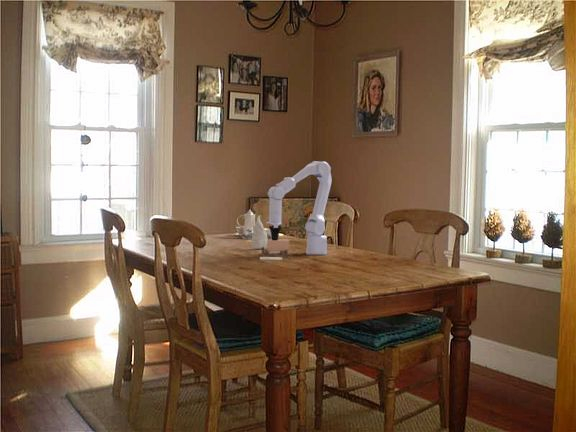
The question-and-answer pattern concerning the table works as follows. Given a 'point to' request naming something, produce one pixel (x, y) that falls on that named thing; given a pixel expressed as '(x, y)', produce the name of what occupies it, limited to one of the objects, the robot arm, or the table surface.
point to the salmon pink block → (277, 245)
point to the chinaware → (249, 226)
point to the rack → (267, 254)
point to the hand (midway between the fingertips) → (274, 241)
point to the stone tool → (259, 236)
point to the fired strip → (270, 258)
